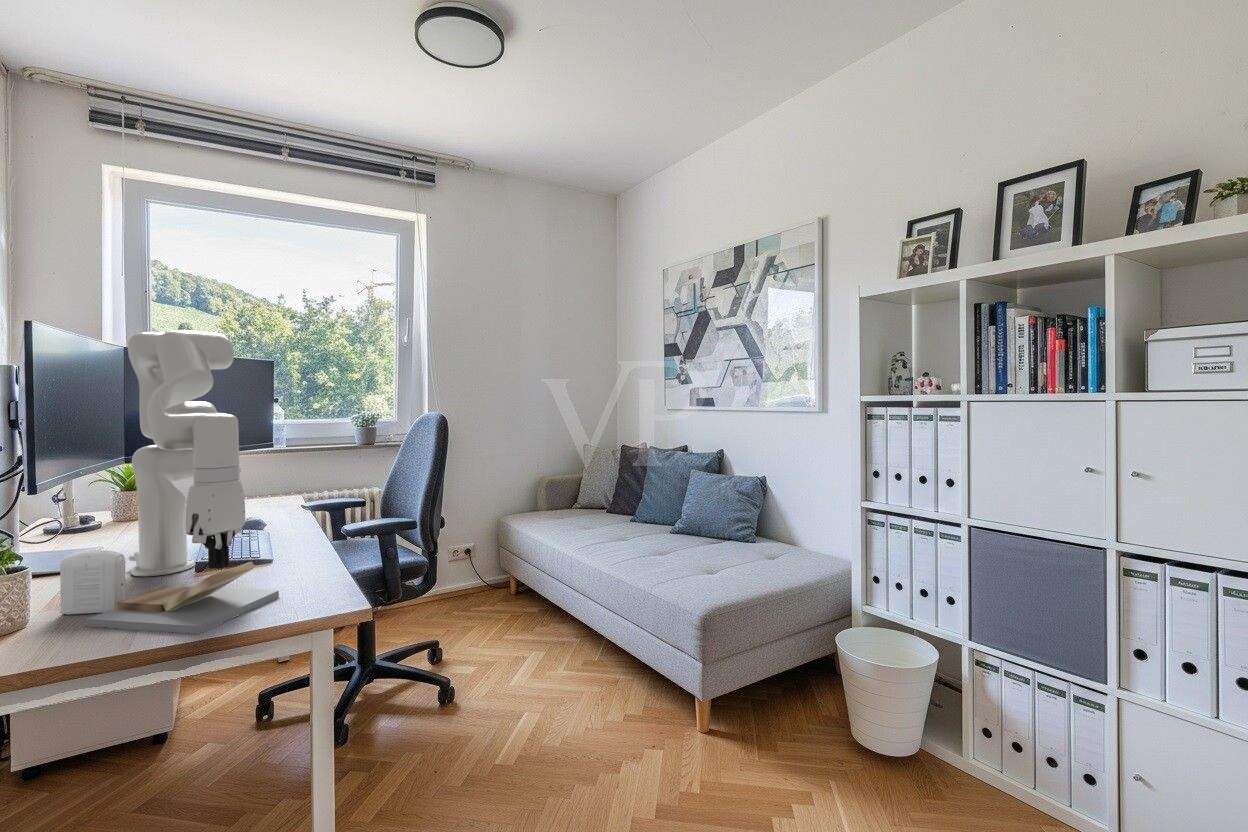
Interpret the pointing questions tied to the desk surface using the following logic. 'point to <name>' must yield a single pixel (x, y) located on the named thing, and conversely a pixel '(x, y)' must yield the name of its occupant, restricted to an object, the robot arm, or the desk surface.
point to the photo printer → (92, 581)
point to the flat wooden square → (151, 599)
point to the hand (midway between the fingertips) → (218, 566)
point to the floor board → (188, 612)
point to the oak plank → (208, 586)
